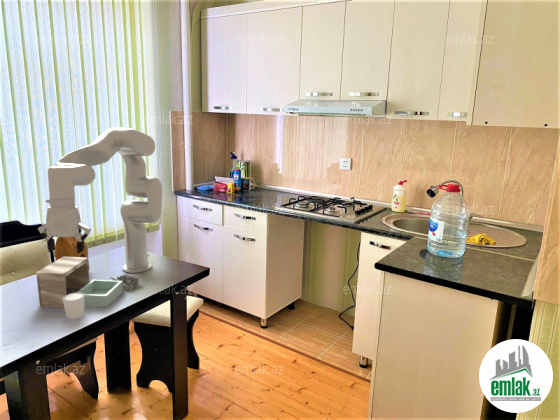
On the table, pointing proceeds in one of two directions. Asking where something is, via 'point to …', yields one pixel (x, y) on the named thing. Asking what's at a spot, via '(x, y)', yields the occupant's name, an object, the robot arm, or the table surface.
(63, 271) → the beige wooden block
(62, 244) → the coffee package
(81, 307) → the shot glass
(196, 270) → the table surface
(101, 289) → the tray
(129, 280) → the egg carton
